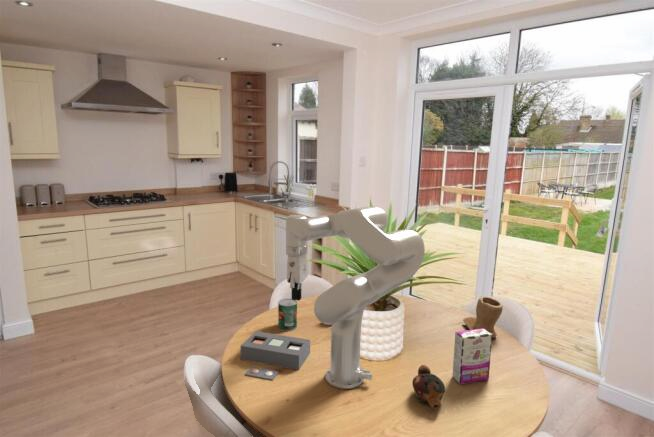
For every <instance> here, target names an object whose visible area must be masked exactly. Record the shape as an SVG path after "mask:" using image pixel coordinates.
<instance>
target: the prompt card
mask: <svg viewBox="0 0 654 437" xmlns="http://www.w3.org/2000/svg"><path fill="white" fill-rule="evenodd" d="M279 373H280V372H279V370H275V369H274V370H273V369H268V368H263V367H257V366H250V367H249V369H248V370H247V371H246V372H245V373H244V376H247V377H253V378H259V379H263V380H268V381H273V380H274V379H275V378H276V376H278V374H279Z"/></svg>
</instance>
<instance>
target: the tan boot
mask: <svg viewBox="0 0 654 437" xmlns="http://www.w3.org/2000/svg"><path fill="white" fill-rule="evenodd" d="M475 307H476V308H475V313H476V314H475V315H476V316H475V317H473V316H469V317H464V318H463V322H464V324H465V325H466V327H467V328H468V329H469V330H475V329H482V328H484V329H486V330H487V331H488V332H490V333H491V334H492V339H493V338H496V337H497V336H498V334H497V331H496V330H495V325H496V323H497V321H498V320H499V319H500V316H501V315H502V313H503V304H502V302H501V301H499V300H498V299H495V298H492V297H489V296H480V297H479V298H478V300H477V303H476V306H475Z"/></svg>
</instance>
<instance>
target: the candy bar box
mask: <svg viewBox="0 0 654 437" xmlns="http://www.w3.org/2000/svg"><path fill="white" fill-rule="evenodd" d="M492 343H493V338H492V334H491V333H490V332H488V331H487V330H486V329H484V328H482V329H475V330H470V329H469V330H467V329H466V330H461V331H455V332H454V346H453V347H454V349H453V364H452V378H453V379H454V380H455V381H457V383H458V384H459V385H464V384H470V383H476V382H482V381H488V380H489V379H490V366H491V354H492Z"/></svg>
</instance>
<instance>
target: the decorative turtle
mask: <svg viewBox="0 0 654 437" xmlns="http://www.w3.org/2000/svg"><path fill="white" fill-rule="evenodd" d="M411 384H412V388H413V391H414V393H415V395H416V398H417V400H418V401H419V403H422V404H423V403H425V402H427V403H428V405H429V406H430V407H431V409H434V410H435V409H436V410H438V409H439V408H440V406H441V401H442V399H443V398H444V396H445V395H446V386H445V384H444V382H443V381H442V379H440V377H438V376H437V375H436V374H433V373H432V372H431V369H430V368H429V366H427V365H426V364H422V365H420V366H419V368H418V370H417V375H416V376H414V377H413V380H412V383H411Z"/></svg>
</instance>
